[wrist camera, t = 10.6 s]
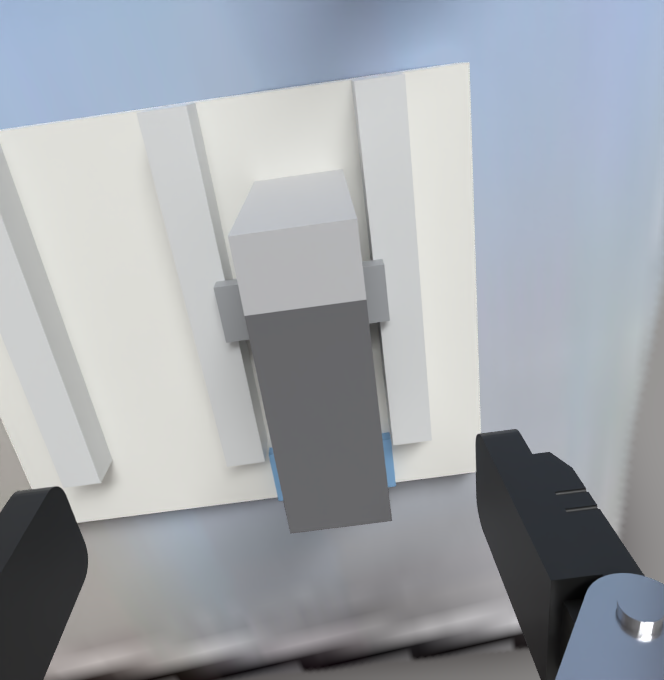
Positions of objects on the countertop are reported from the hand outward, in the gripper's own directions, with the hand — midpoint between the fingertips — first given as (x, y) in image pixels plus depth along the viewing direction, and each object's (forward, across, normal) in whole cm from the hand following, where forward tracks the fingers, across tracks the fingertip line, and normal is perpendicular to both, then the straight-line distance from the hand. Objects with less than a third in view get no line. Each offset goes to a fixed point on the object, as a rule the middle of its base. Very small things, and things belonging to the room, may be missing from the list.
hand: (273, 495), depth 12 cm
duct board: (+13, +2, +1) cm, 13 cm away
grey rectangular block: (+11, -1, 0) cm, 11 cm away
